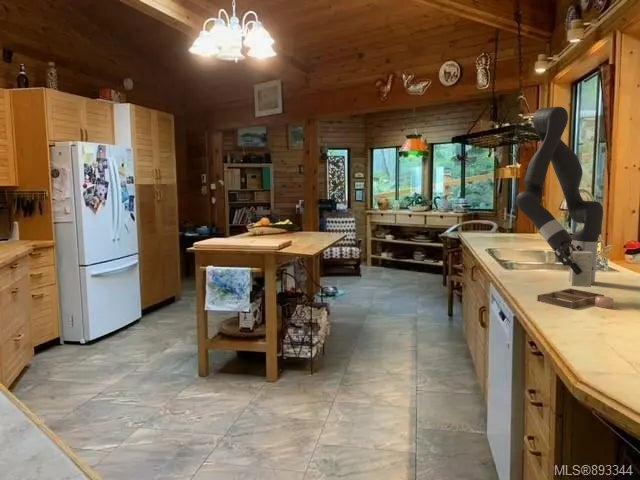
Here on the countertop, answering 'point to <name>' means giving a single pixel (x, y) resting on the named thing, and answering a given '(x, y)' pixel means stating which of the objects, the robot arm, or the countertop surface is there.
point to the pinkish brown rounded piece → (603, 302)
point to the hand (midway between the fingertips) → (585, 272)
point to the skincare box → (585, 264)
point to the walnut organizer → (569, 298)
